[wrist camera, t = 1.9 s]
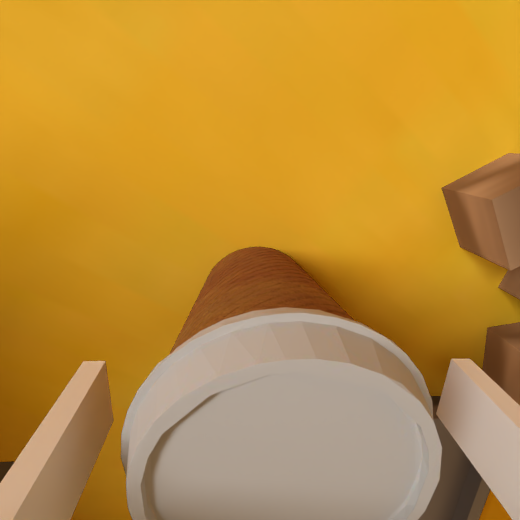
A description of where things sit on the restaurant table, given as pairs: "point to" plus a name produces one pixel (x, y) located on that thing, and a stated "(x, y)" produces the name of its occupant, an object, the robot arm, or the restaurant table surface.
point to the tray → (455, 481)
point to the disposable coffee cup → (279, 409)
